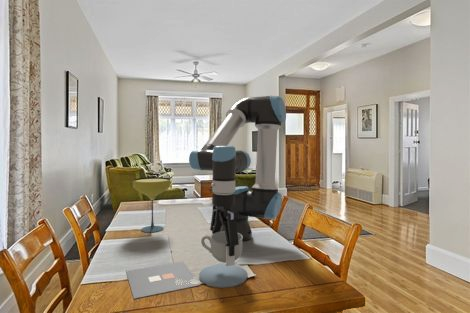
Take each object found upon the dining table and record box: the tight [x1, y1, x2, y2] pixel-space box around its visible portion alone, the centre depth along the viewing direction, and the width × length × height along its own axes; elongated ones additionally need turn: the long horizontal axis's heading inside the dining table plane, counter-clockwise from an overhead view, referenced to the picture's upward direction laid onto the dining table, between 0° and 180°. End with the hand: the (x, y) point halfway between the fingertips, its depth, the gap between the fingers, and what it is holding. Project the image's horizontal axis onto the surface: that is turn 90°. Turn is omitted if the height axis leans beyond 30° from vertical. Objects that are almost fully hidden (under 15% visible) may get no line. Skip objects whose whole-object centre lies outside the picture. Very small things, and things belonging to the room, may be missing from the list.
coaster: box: [198, 263, 248, 289], centre depth 104 cm, size 16×16×1 cm
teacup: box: [200, 231, 243, 264], centre depth 104 cm, size 14×11×8 cm
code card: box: [125, 261, 201, 300], centre depth 102 cm, size 20×20×1 cm
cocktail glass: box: [132, 176, 172, 234], centre depth 154 cm, size 18×18×25 cm
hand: (223, 258), depth 103 cm, fingers closed on teacup, 11 cm apart
